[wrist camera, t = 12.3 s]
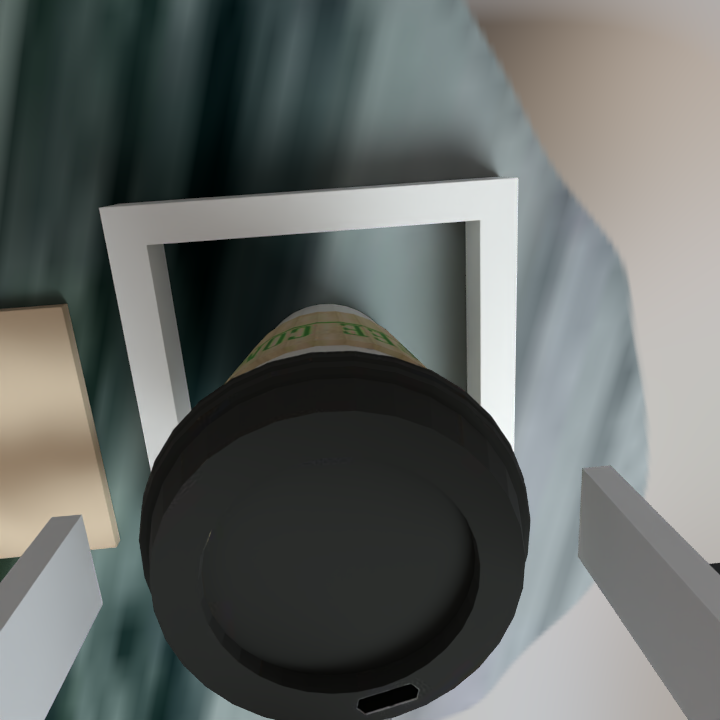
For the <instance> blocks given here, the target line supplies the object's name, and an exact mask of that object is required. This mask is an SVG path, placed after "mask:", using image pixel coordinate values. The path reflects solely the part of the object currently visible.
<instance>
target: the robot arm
mask: <svg viewBox="0 0 720 720" xmlns="http://www.w3.org/2000/svg"><path fill="white" fill-rule="evenodd" d="M578 557H579V559H580V560H581V562H582V563H583V565H584V566H585V567H586V569H587V570H588V572H589V573H590V575H591V576H592V578H593V579H594V581H595V582H596V584H597V585H598V587H599V588H600V590H601V591H602V593H603V594H604V596H605V597H606V599H607V600H608V601H609V603H610V604H611V606H612V607H613V609H614V610H615V612H616V613H617V615H618V616H619V618H620V619H621V621H622V622H623V624H624V625H625V627H626V628H627V630H628V631H629V633H630V634H631V635H632V637H633V639H634V640H635V641H636V643H637V644H638V646H639V647H640V649H641V650H642V652H643V653H644V654H645V656H646V658H647V659H648V661H649V662H650V664H651V665H652V667H653V668H654V670H655V671H656V672H657V674H658V675H659V677H660V678H661V680H662V681H663V683H664V684H665V686H666V687H667V689H668V690H669V692H670V693H671V695H672V696H673V698H674V699H675V700H676V702H677V704H678V705H679V707H680V708H681V710H682V711H683V713H684V714H685V715H686V717H687V718H688V720H720V563H714V564H708V563H707V562H706V561H705V560H704V559H703V558H702V557H701V556H700V555H699V554H698V553H697V552H696V551H695V550H694V549H693V548H692V547H691V546H690V545H689V544H688V543H687V542H686V541H685V540H684V539H683V538H682V537H681V536H680V535H679V534H678V533H677V532H676V531H675V530H674V529H673V528H672V527H671V526H670V525H669V524H668V523H667V522H666V521H665V520H664V519H663V518H662V517H661V516H660V515H659V514H658V513H657V512H656V511H655V510H654V509H653V508H652V507H651V505H649V503H648V502H647V501H646V500H645V499H644V498H643V497H642V496H641V495H640V494H639V493H638V492H637V491H636V490H635V489H634V488H633V487H632V486H631V485H630V484H629V483H628V482H627V481H626V480H625V479H624V478H623V477H622V476H621V475H620V474H619V473H618V472H617V471H616V470H615V469H614V468H613V467H612V466H600V467H589V468H582V487H581V507H580V528H579V548H578ZM102 604H103V602H102V597H101V593H100V589H99V585H98V580H97V576H96V572H95V568H94V563H93V559H92V555H91V551H90V546H89V542H88V538H87V534H86V529H85V525H84V521H83V517H82V514H81V515H70V516H59V517H51V519H50V520H49V521H48V523H47V524H46V525H45V526H44V528H43V529H42V530H41V532H40V533H39V534H38V535H37V537H36V538H35V539H34V541H33V542H32V543H31V544H30V546H29V547H28V548H27V549H26V551H25V552H24V553H23V555H22V556H21V557H20V558H19V560H18V561H17V562H16V564H15V565H14V566H13V567H12V569H11V570H10V571H9V573H8V574H7V575H6V576H5V578H4V579H3V580H2V582H1V583H0V720H44V719H45V717H46V715H47V713H48V711H49V709H50V707H51V705H52V704H53V702H54V700H55V698H56V696H57V694H58V692H59V690H60V688H61V686H62V684H63V682H64V680H65V678H66V676H67V674H68V672H69V670H70V668H71V666H72V664H73V662H74V660H75V658H76V656H77V654H78V652H79V650H80V648H81V646H82V644H83V642H84V640H85V638H86V636H87V634H88V632H89V630H90V628H91V626H92V624H93V622H94V620H95V618H96V616H97V614H98V612H99V610H100V608H101V606H102Z"/></svg>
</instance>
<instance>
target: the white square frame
mask: <svg viewBox="0 0 720 720" xmlns="http://www.w3.org/2000/svg"><path fill="white" fill-rule="evenodd" d="M99 211H100V216H101V221H102V226H103V231H104V236H105V241H106V246H107V251H108V256H109V261H110V266H111V271H112V276H113V282H114V287H115V292H116V297H117V302H118V307H119V312H120V317H121V322H122V327H123V332H124V337H125V342H126V347H127V353H128V358H129V363H130V368H131V373H132V378H133V383H134V388H135V393H136V398H137V403H138V408H139V413H140V418H141V424H142V429H143V434H144V439H145V444H146V449H147V454H148V459H149V464H150V469H151V470H152V467H153V464H154V461H155V459H156V457H157V456H158V454H159V452H160V451H161V449H162V448H163V446H164V444H165V443H166V441H167V439H168V438H169V436H170V434H171V433H172V431H173V429H174V428H175V427H176V426H177V425H178V424H179V423H180V422H181V421H182V420H183V419H184V417H185V416H186V415H187V414H188V413H189V412H190V411H191V406H190V400H189V394H188V388H187V382H186V376H185V370H184V364H183V358H182V352H181V346H180V340H179V334H178V328H177V322H176V316H175V310H174V304H173V298H172V292H171V286H170V280H169V274H168V268H167V262H166V256H165V250H164V244H168V243H181V242H195V241H208V240H222V239H235V238H248V237H262V236H275V235H288V234H302V233H315V232H329V231H342V230H355V229H369V228H382V227H395V226H409V225H422V224H435V223H449V222H462V221H465V230H466V323H467V393H468V394H469V395H470V396H471V397H472V398H473V399H474V400H475V401H476V402H477V403H479V404H480V405H481V406H482V407H483V408H484V409H485V410H486V411H487V412H488V413H489V414H490V415H491V416H492V417H493V419H494V420H495V422H496V423H497V425H498V426H499V428H500V429H501V431H502V432H503V434H504V435H505V437H506V438H507V440H508V441H509V443H510V444H511V447H512V449H513V452H514V420H515V357H516V294H517V232H518V178H514V177H486V178H472V179H458V180H445V181H431V182H417V183H403V184H389V185H375V186H361V187H347V188H333V189H319V190H305V191H291V192H277V193H263V194H249V195H235V196H221V197H207V198H193V199H179V200H165V201H151V202H137V203H123V204H116V205H111V206H106V207H101V208H99ZM384 720H392V718H389V719H384Z"/></svg>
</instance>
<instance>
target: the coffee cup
mask: <svg viewBox="0 0 720 720" xmlns="http://www.w3.org/2000/svg"><path fill="white" fill-rule="evenodd" d="M529 531H530V513H529V506H528V499H527V492H526V486H525V483H524V478H523V475H522V472H521V470H520V467H519V465H518V462H517V459H516V457H515V454H514V452H513V449H512V447H511V444H510V443H509V441H508V440H507V438H506V437H505V435H504V434H503V432H502V431H501V429H500V428H499V426H498V425H497V423H496V422H495V420H494V419H493V417H492V416H491V415H490V414H489V413H488V412H487V411H486V410H485V409H484V408H483V407H482V406H481V405H480V404H479V403H477V402H476V401H475V400H474V399H473V398H472V397H471V396H470V395H469V394H468V393H467V392H466V391H465V390H463V389H462V388H460V387H458V386H457V385H455V384H453V383H452V382H450V381H448V380H447V379H445V378H444V377H442V376H440V375H439V374H437V373H435V372H434V371H432V370H429V369H427V368H426V367H425V366H424V365H423V364H422V363H421V362H420V361H419V360H418V359H417V358H416V357H414V356H413V355H412V354H411V353H410V352H409V351H408V350H407V349H406V348H405V347H404V346H403V345H402V344H401V343H400V342H399V341H398V340H396V339H395V338H394V337H393V336H392V335H391V334H390V333H389V332H388V331H387V330H386V329H384V328H382V327H381V326H379V325H378V324H376V323H375V322H374V321H373V320H372V319H371V318H369V317H368V316H366V315H365V314H363V313H361V312H360V311H358V310H355V309H352V308H350V307H347V306H342V305H336V304H319V305H314V306H310V307H306V308H303V309H301V310H299V311H297V312H294V313H293V314H291V315H290V316H288V317H287V318H286V319H284V320H283V321H282V322H281V323H280V324H279V325H278V326H277V327H276V328H275V329H274V330H272V331H271V332H270V333H268V334H267V335H266V336H265V337H264V338H263V340H262V341H261V342H260V343H259V344H258V345H257V346H256V347H255V348H254V349H253V351H252V352H251V353H250V354H249V355H248V356H247V358H246V359H245V360H244V361H243V362H242V364H241V365H240V366H239V367H238V368H237V369H236V371H235V372H234V373H233V374H232V375H231V377H230V378H229V379H228V380H227V381H226V382H225V384H224V385H222V386H221V387H219V388H218V389H217V390H215V391H214V392H212V393H211V394H209V395H208V396H206V397H205V398H204V399H202V400H201V401H200V402H199V403H198V404H197V405H196V406H195V407H194V408H193V409H192V410H191V411H190V412H189V413H188V414H187V415H186V416H185V417H184V419H183V420H182V421H181V422H180V423H179V424H178V425H177V426H176V427H175V428H174V429H173V431H172V433H171V434H170V436H169V438H168V439H167V441H166V443H165V444H164V446H163V448H162V449H161V451H160V452H159V454H158V456H157V457H156V459H155V461H154V464H153V467H152V470H151V473H150V476H149V479H148V482H147V485H146V488H145V492H144V495H143V504H142V511H141V523H140V534H139V543H140V550H141V556H142V563H143V570H144V576H145V579H146V582H147V584H148V587H149V589H150V592H151V594H152V601H153V607H154V612H155V614H156V617H157V619H158V622H159V624H160V627H161V629H162V632H163V634H164V637H165V639H166V641H167V642H168V644H169V645H170V647H171V648H172V649H173V651H174V652H175V654H176V655H177V657H178V658H179V660H180V661H181V663H182V664H183V665H184V666H185V667H186V668H187V669H188V670H189V671H190V672H191V673H192V674H193V675H194V676H195V677H196V678H197V679H198V680H199V681H201V682H202V683H203V684H204V685H205V686H206V687H207V688H209V689H210V690H212V691H213V692H215V693H216V694H218V695H220V696H221V697H223V698H224V699H226V700H227V701H229V702H231V703H232V704H234V705H236V706H239V707H241V708H243V709H246V710H248V711H251V712H253V713H255V714H258V715H260V716H263V717H266V718H271V719H275V720H384V719H389V718H393V717H396V716H399V715H402V714H404V713H407V712H409V711H412V710H414V709H417V708H419V707H422V706H424V705H427V704H428V703H430V702H432V701H433V700H435V699H437V698H439V697H440V696H442V695H444V694H445V693H447V692H449V691H450V690H452V689H454V688H455V687H456V686H458V685H459V684H460V683H461V682H462V681H464V680H465V679H466V678H467V677H468V676H470V675H471V674H472V673H473V672H474V671H476V670H477V669H478V668H479V667H480V666H481V664H482V663H483V662H484V661H485V660H486V659H487V657H488V656H489V655H490V654H491V653H492V651H493V650H494V649H495V648H496V647H497V645H498V644H499V643H500V641H501V639H502V637H503V636H504V634H505V632H506V630H507V628H508V627H509V625H510V623H511V621H512V619H513V618H514V615H515V612H516V608H517V605H518V602H519V599H520V596H521V592H522V589H523V581H524V569H525V562H526V558H527V555H528V543H529Z"/></svg>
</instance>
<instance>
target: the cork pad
mask: <svg viewBox="0 0 720 720" xmlns="http://www.w3.org/2000/svg"><path fill="white" fill-rule="evenodd" d="M81 514H82V517H83V521H84V525H85V529H86V534H87V538H88V542H89V546H90V550H93V549H104V548H114V547H117V545H118V543H119V541H120V537H119V532H118V528H117V523H116V519H115V514H114V510H113V505H112V501H111V496H110V492H109V488H108V483H107V479H106V474H105V470H104V465H103V461H102V456H101V452H100V447H99V443H98V438H97V434H96V430H95V425H94V421H93V416H92V412H91V407H90V403H89V398H88V394H87V389H86V385H85V381H84V376H83V372H82V367H81V363H80V358H79V354H78V349H77V345H76V340H75V336H74V331H73V327H72V323H71V318H70V314H69V309H68V305H67V304H58V305H45V306H32V307H19V308H7V309H0V558H11V557H21V556H22V555H23V553H24V552H25V551H26V549H27V548H28V547H29V546H30V544H31V543H32V542H33V541H34V539H35V538H36V537H37V535H38V534H39V533H40V532H41V530H42V529H43V528H44V526H45V525H46V524H47V523H48V521H49V520H50V519H51V517H59V516H70V515H81Z"/></svg>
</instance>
